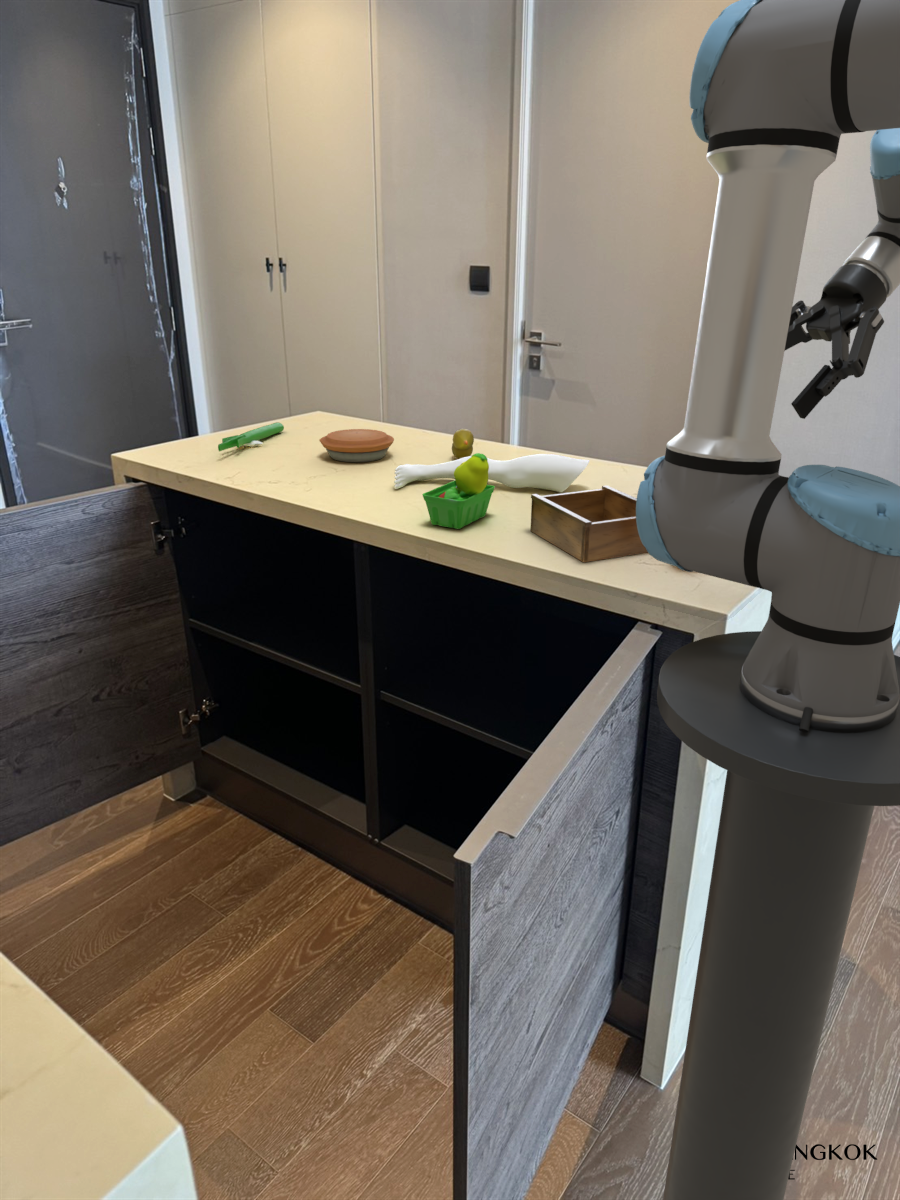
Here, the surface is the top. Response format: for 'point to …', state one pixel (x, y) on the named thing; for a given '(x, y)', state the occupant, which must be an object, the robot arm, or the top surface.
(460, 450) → the bird figurine
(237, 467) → the top surface
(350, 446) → the pie
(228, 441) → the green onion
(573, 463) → the leg
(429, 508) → the fruit basket
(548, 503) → the wooden crate
